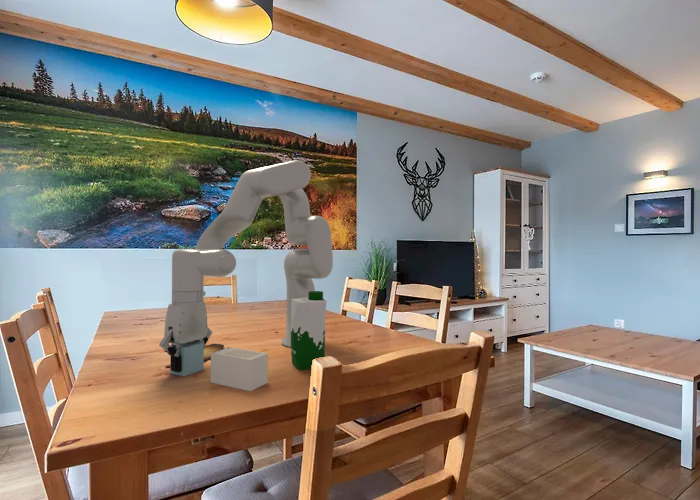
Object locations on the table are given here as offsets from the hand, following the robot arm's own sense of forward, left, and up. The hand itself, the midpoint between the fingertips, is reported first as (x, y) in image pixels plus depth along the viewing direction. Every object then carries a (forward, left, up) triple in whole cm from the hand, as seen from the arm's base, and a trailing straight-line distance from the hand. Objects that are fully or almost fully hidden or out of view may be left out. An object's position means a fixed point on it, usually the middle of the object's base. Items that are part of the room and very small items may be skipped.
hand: (187, 366), depth 97 cm
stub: (0, 0, -1) cm, 1 cm away
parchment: (-12, -9, -2) cm, 15 cm away
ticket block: (0, +17, -1) cm, 17 cm away
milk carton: (-19, +24, -1) cm, 31 cm away
